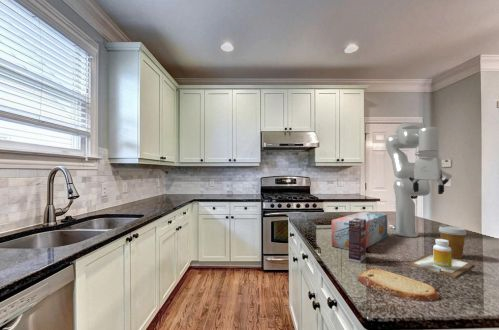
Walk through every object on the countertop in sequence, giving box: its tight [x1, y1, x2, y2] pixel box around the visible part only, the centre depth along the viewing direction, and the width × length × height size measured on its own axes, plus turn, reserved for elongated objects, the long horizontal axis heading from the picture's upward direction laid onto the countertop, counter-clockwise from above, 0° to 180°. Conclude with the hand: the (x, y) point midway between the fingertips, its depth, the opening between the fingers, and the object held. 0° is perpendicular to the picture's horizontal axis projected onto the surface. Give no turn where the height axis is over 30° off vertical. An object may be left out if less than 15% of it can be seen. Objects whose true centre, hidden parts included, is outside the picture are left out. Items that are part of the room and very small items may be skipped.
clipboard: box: [407, 253, 475, 279], centre depth 99 cm, size 15×20×2 cm
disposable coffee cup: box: [438, 225, 467, 260], centre depth 110 cm, size 10×10×12 cm
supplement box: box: [348, 218, 367, 264], centre depth 106 cm, size 9×5×16 cm, turn 142°
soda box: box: [330, 211, 388, 251], centre depth 133 cm, size 41×14×13 cm, turn 137°
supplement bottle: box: [432, 238, 453, 269], centre depth 96 cm, size 5×5×10 cm
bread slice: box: [357, 267, 440, 302], centre depth 80 cm, size 18×18×4 cm
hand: (428, 192), depth 117 cm, fingers open, 9 cm apart
